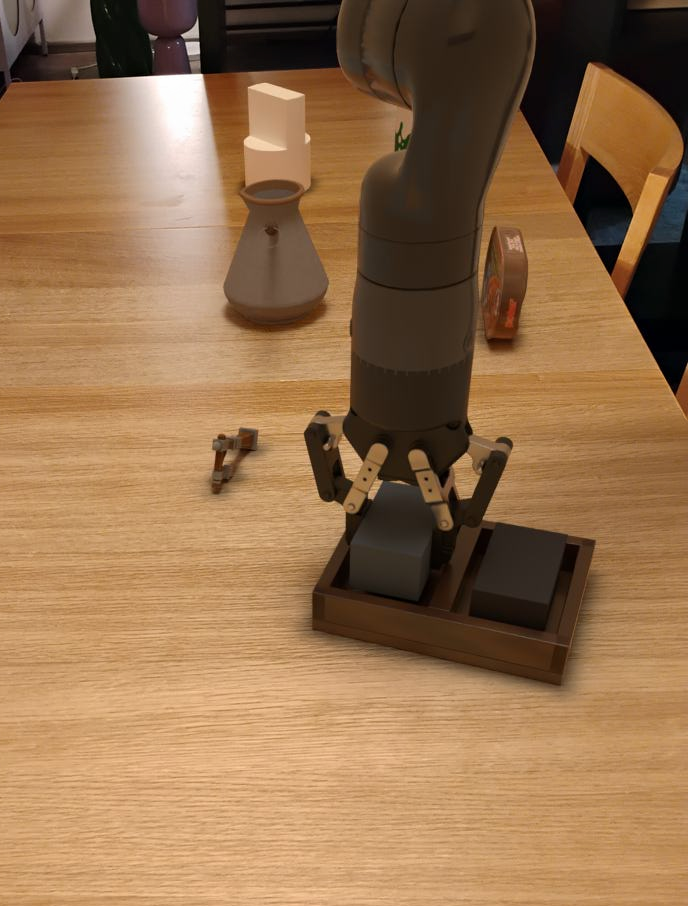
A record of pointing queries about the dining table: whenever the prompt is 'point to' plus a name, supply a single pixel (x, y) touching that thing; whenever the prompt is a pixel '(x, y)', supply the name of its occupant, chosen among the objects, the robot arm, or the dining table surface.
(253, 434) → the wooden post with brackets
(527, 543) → the dark brown rectangular block
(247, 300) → the coffee pot
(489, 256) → the tin
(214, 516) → the dining table surface
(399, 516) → the pad
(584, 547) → the divided wooden tray
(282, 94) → the cylinder with rectangular tab
